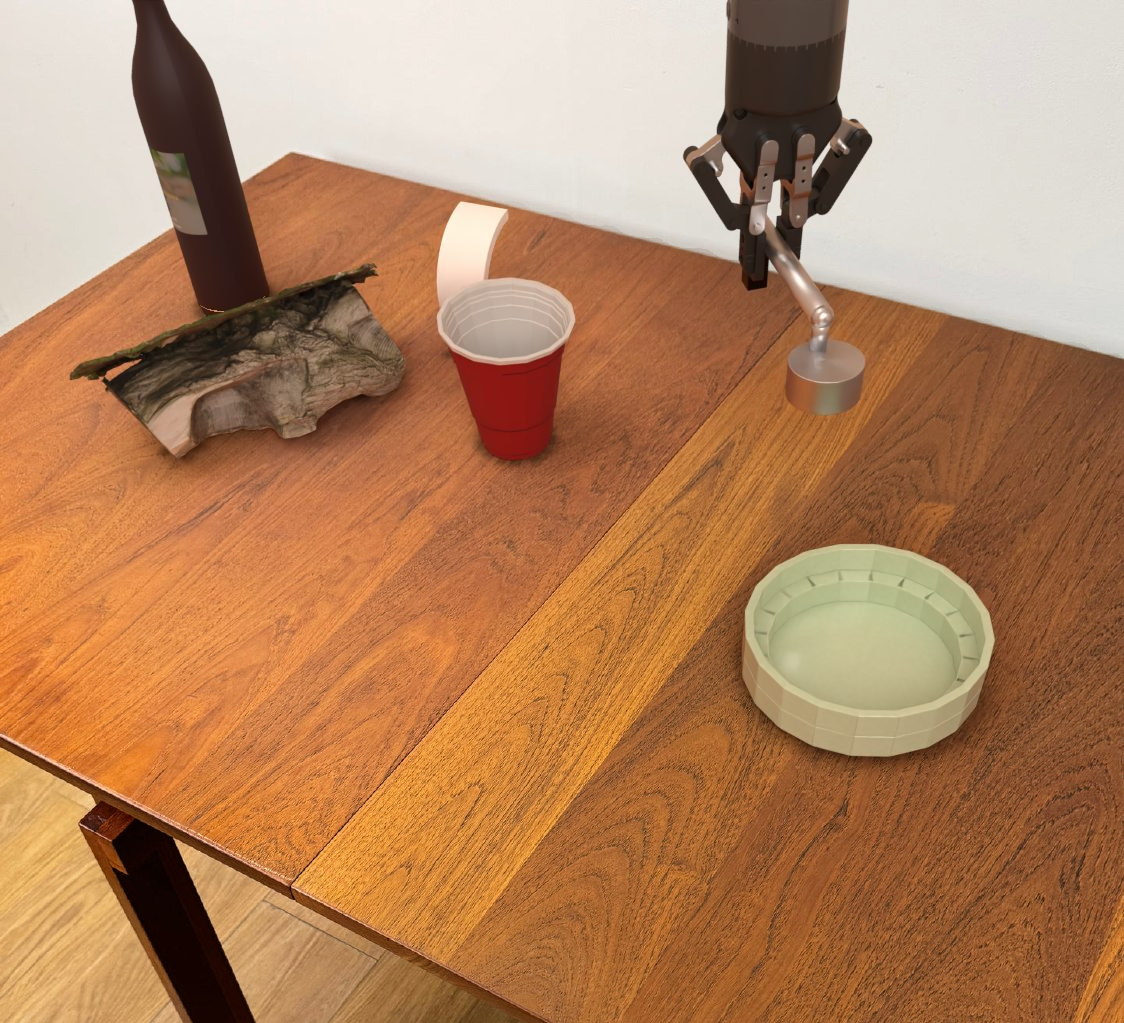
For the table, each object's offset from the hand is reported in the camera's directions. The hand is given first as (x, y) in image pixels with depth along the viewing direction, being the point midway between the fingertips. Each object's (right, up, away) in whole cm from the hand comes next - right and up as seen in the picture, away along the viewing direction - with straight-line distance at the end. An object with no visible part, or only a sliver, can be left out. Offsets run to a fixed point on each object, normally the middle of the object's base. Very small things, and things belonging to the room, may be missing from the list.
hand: (768, 271), depth 90 cm
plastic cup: (-19, -9, +13) cm, 25 cm away
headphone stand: (-23, +2, +23) cm, 32 cm away
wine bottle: (-48, +9, +30) cm, 57 cm away
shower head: (+1, -6, -1) cm, 6 cm away
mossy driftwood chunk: (-42, -6, +18) cm, 46 cm away
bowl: (+5, -30, -6) cm, 31 cm away
